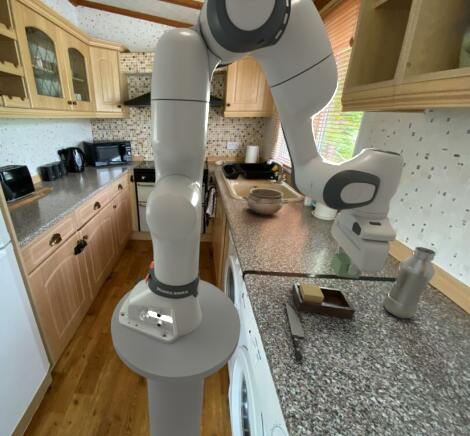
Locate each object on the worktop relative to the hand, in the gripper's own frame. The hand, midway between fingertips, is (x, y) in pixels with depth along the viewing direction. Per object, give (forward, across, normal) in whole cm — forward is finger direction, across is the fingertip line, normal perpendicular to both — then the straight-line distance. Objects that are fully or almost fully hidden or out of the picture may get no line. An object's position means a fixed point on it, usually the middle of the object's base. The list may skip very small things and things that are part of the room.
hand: (345, 266), depth 64 cm
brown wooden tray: (+14, -1, -3) cm, 14 cm away
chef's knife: (+14, +11, -12) cm, 21 cm away
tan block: (+13, -1, -6) cm, 15 cm away
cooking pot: (+14, -72, -12) cm, 74 cm away
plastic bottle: (+14, -2, +17) cm, 22 cm away
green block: (+2, 0, 0) cm, 2 cm away
